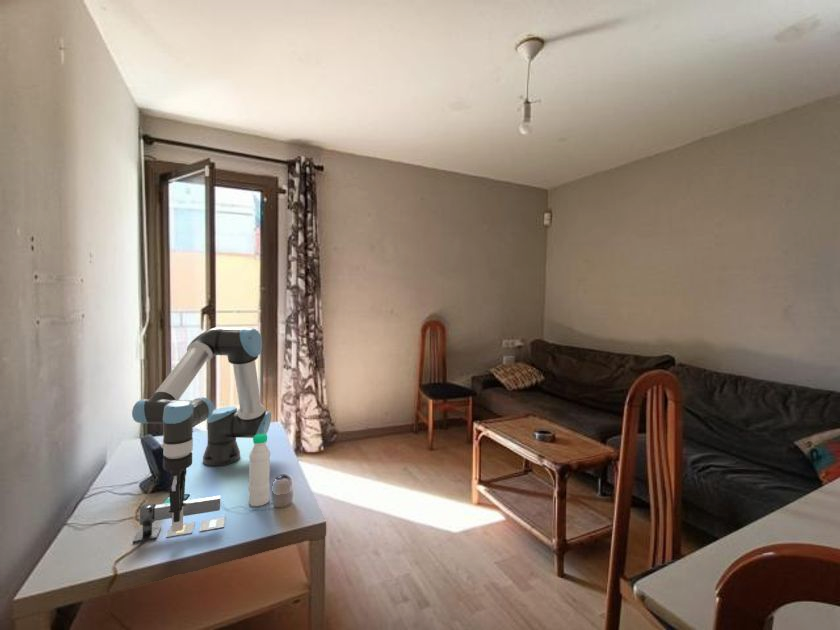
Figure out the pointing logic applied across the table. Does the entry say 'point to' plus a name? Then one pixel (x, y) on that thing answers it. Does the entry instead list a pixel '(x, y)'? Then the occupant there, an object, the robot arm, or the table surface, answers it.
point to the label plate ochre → (186, 530)
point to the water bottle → (259, 471)
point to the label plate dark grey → (212, 524)
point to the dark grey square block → (147, 534)
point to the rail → (192, 507)
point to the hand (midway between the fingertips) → (177, 529)
